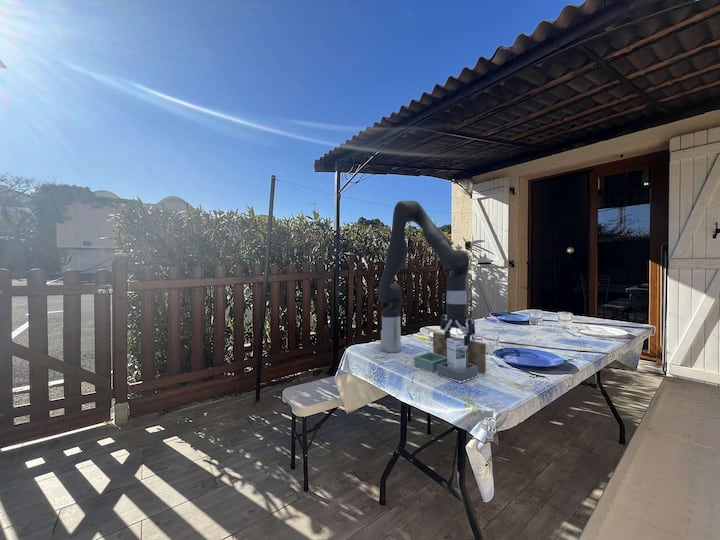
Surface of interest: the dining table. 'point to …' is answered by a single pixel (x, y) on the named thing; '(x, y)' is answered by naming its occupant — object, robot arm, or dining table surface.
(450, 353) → the syrup box
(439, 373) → the box
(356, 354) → the dining table surface
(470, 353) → the back panel
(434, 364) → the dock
